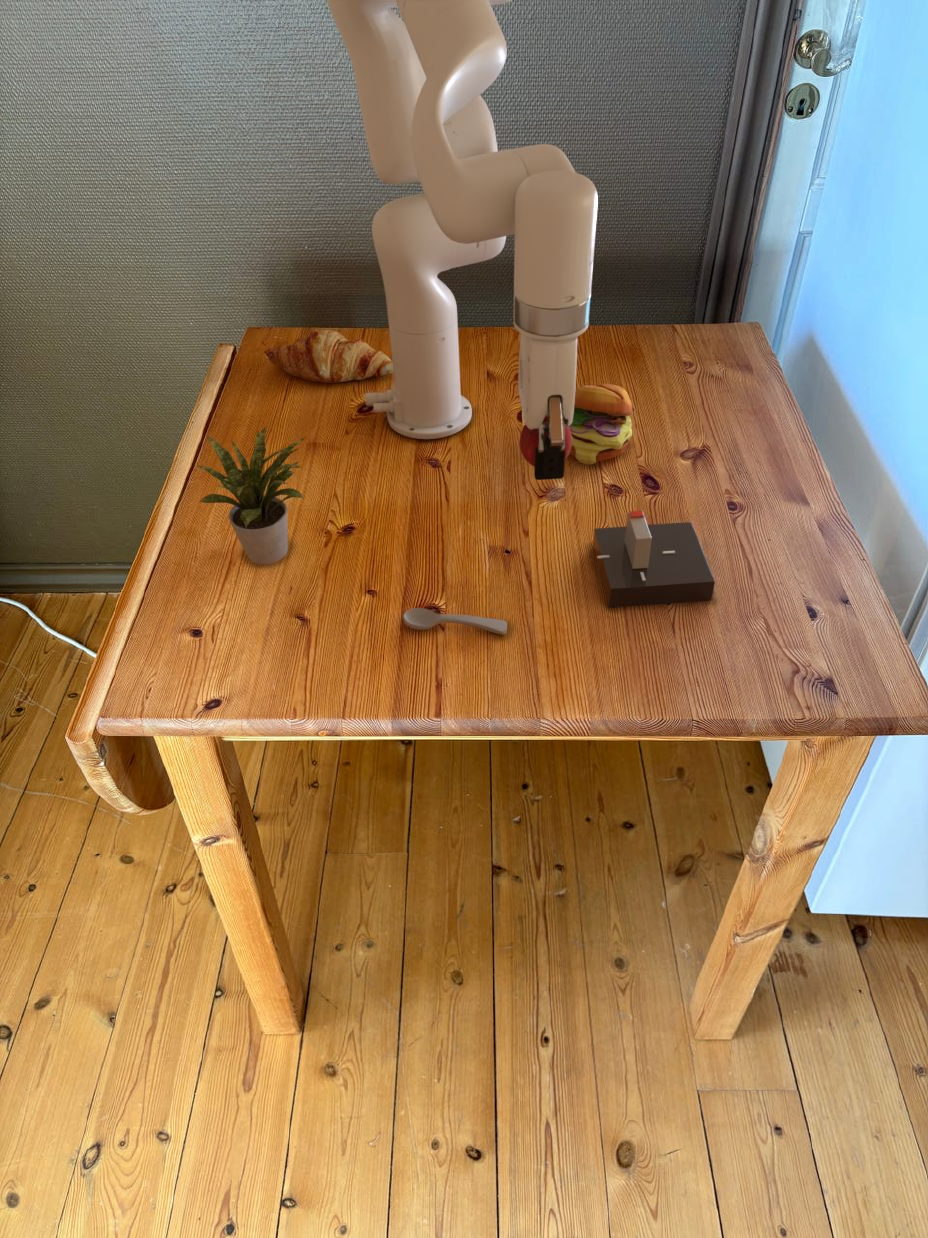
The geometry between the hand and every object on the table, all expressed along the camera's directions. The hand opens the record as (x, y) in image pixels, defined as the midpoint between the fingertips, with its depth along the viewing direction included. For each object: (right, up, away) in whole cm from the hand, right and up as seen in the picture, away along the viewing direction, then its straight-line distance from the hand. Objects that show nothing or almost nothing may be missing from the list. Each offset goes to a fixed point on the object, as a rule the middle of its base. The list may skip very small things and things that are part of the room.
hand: (545, 458), depth 104 cm
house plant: (-33, -10, +12) cm, 37 cm away
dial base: (+13, -12, +7) cm, 20 cm away
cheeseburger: (+9, +7, +27) cm, 30 cm away
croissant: (-30, +21, +44) cm, 58 cm away
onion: (0, -1, +1) cm, 2 cm away
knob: (+11, -10, +5) cm, 16 cm away
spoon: (-10, -19, +2) cm, 22 cm away
